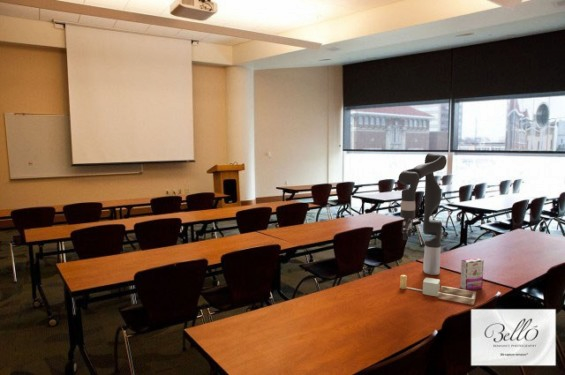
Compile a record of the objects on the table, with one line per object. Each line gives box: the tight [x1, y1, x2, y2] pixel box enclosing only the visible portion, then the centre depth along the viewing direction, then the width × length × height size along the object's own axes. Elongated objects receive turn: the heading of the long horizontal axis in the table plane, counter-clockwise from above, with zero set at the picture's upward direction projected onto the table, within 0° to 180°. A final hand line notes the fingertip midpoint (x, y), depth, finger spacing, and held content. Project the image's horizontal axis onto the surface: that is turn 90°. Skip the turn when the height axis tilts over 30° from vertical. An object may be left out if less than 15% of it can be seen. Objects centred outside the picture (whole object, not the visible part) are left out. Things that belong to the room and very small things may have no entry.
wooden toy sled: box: [437, 285, 477, 306], centre depth 216 cm, size 17×11×3 cm, turn 60°
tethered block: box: [399, 274, 441, 298], centre depth 225 cm, size 20×8×7 cm, turn 60°
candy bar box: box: [460, 257, 484, 291], centre depth 228 cm, size 11×5×16 cm, turn 105°
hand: (406, 238), depth 221 cm, fingers open, 8 cm apart
